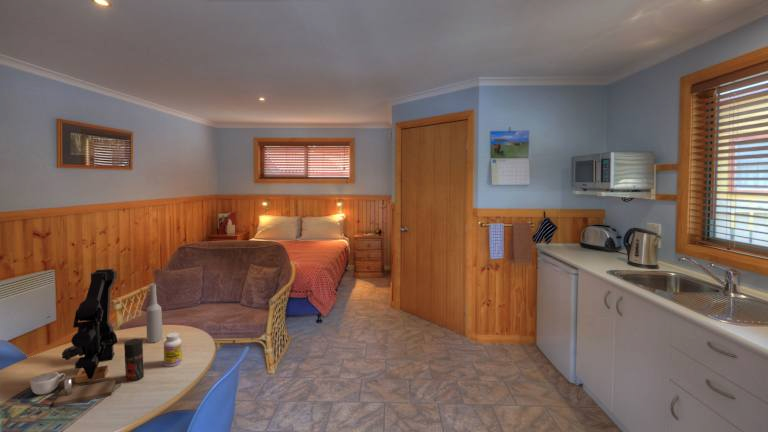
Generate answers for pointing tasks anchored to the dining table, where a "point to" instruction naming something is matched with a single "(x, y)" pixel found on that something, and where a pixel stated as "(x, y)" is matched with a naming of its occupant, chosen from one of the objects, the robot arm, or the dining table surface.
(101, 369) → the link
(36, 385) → the teacup
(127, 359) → the deodorant
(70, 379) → the keeper peg
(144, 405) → the dining table surface
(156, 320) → the bottle
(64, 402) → the board
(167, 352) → the supplement bottle
